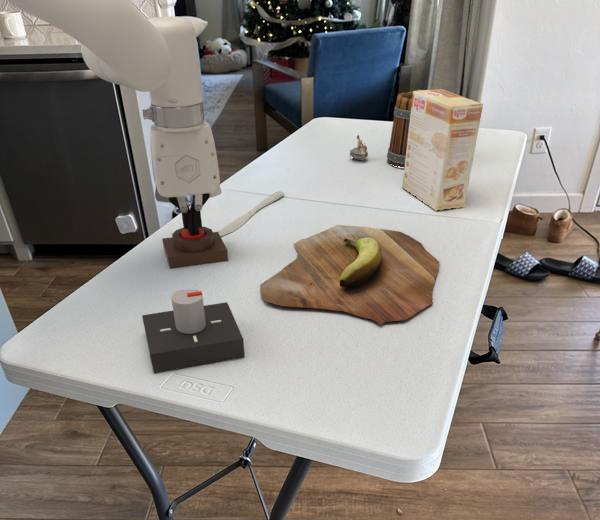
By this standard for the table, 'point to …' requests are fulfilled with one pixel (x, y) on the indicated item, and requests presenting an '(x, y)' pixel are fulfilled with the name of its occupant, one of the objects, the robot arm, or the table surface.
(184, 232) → the power button
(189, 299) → the dial
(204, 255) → the block
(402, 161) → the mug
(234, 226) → the butter knife
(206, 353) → the dial panel
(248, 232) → the table surface
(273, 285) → the cutting board
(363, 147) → the figurine
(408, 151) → the coffeecake box
